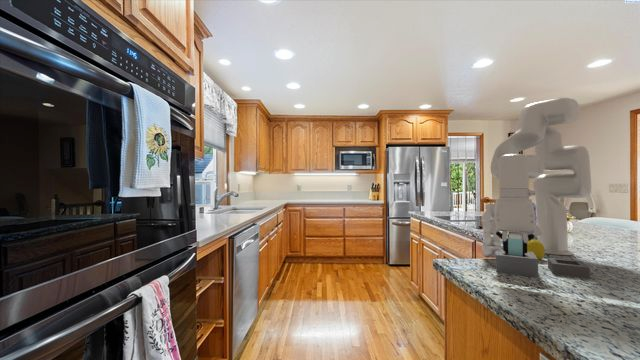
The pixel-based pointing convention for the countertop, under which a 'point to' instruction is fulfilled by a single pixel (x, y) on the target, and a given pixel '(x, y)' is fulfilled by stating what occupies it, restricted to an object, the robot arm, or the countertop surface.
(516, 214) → the robot arm
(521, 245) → the plug
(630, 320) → the countertop surface
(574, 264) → the grey square socket
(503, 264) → the port block
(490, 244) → the plastic bottle
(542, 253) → the lemon
